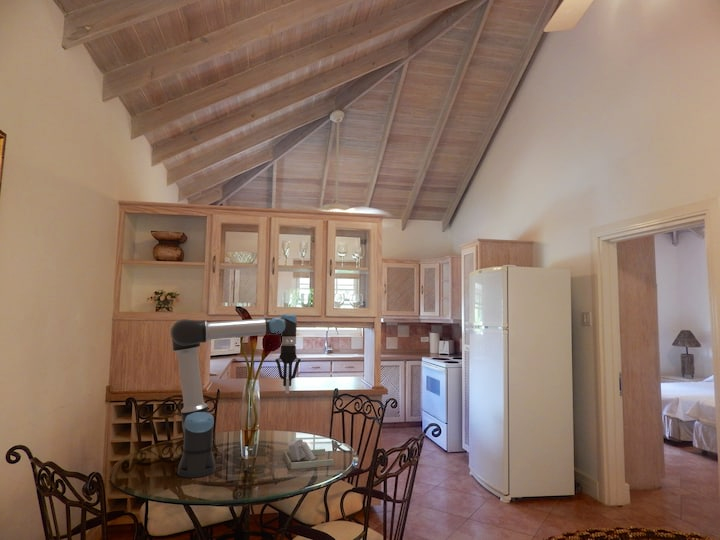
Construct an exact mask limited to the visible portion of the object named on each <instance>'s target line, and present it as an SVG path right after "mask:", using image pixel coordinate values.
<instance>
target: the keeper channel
mask: <svg viewBox="0 0 720 540" xmlns="http://www.w3.org/2000/svg"><path fill="white" fill-rule="evenodd" d="M311 451H312V453H313V454H314V456H323V455H324V456H325V455H326V448H318V449H317V448H316V449H311ZM305 457H307V456H306V454H305ZM283 459H284V461H285V464H286V466H287V468H288V469H289V470H298V469H299V470H300V469H308V468H309V469H310V468H321V466H322V467H330V466H335V459H334V458H331V459H329V458H328V459H321V460H312V461H309V460H308V461H307V460H306V461H293V462H292V461H291V459H290V453H289V451H286V450H283Z"/></svg>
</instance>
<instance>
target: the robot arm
mask: <svg viewBox="0 0 720 540" xmlns="http://www.w3.org/2000/svg"><path fill="white" fill-rule="evenodd" d="M297 320H298V319H297V315H296V314H289V313H287V314H286V313H285V314H282V315H281V317H259V318H258V319H257V318H256V319H255V318H254V319H244V320H243V319H241V320H227V321H226V320H225V321H215V322H213V321H212V322H208V321H207V320H193V319H189V318H188V319H180V320H177V321H176V322H175V323H174V324H173V325H172V327H171V328H170V337H171V342H172V351H173V352H174V353H175V354H177V361H178V371H179V378H180V385H181V386H180V387H181V393H182V394H181V395H182V402H183V403H182V404H183V407H182V409H181V410H180V417H181V427H182V431H183V447H182V449H183V450H182V452H183V453H182V455H181V456H182V457H181V459H180V461H179V463H178V466H177V476H179V477H180V478H181V477H182V478H189V479H191V478H201V477H206V476H209V475H211V474H213V473H215V472H216V467H217V465H216V460H215V457H214V453H213V439H214V426H215V425H214V424H215V420H214V416H213V414H212V413H210V412H209V405H208V404H207V403H206V402H205V401H204V395H203V394H204V393H203V386H202V378H201V370H200V363H199V362H200V361H199V354H198V350H199V349H200V347H201V343H207V342H208V341H209V340H220V339H221V340H222V339H231V338H242V337H244V338H245V337H253V336H263V335H264V336H265V335H266V333H267V334H268V333H269V332H270V333H276V334H275V335H280V334H282V344H281V346H280V354H279V357H277V358H275V359H274V361H275V363H276V364H277V365H276V366H277V370H278V375H279V378H280V379H282V382H283V384H282V385H283V387H284V389H285V390H284V393H285V394H290V387H291V386H292V380H293V379H296V375H297V372H298V368H299V364H300V362H301V358H299V357H297V353H296V352H297V346H296V344H297V325H298V323H297V322H298V321H297ZM278 331H279V332H278ZM277 332H278V333H279V334H278V333H277ZM270 333H269V334H268V335H271V334H270ZM266 336H267V335H266ZM281 362H282V364H283V372H282V367H281ZM294 362H295V364H294V367H293V363H294ZM287 366H288V367H287ZM287 369H288V370H287ZM287 371H288V375H287ZM287 376H288V378H287Z"/></svg>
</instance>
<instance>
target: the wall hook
mask: <svg viewBox="0 0 720 540" xmlns="http://www.w3.org/2000/svg"><path fill="white" fill-rule="evenodd" d="M287 447H288V452H289V453H290V458H289V459H290V461H291V462H299V461H301V460H302V459H304V458H305V457H307V459H308V461H314V460H315V459H316V455H314V454H313V453H312V451H311V450H312V448H310V446H309V445H308V443H307V442H305V441H303V439H301V438H299V439H295V440H292V441H290V442H289V443H288V446H287ZM305 454H306V456H305Z"/></svg>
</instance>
